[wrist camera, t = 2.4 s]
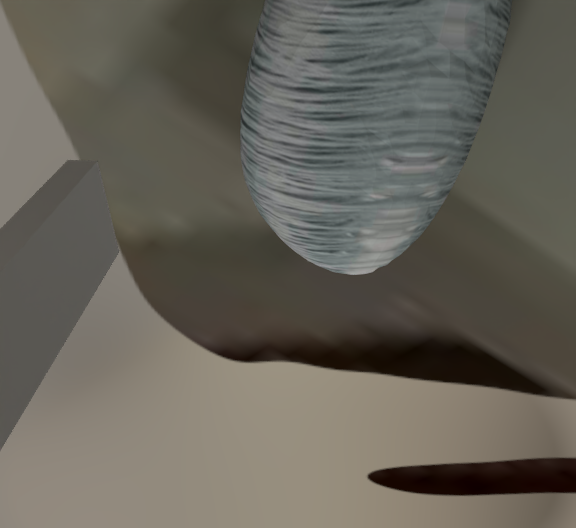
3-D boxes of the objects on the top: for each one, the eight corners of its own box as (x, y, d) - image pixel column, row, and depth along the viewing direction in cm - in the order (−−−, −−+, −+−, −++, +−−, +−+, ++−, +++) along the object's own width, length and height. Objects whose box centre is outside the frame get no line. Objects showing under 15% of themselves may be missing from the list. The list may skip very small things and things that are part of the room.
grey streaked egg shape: (242, -197, 16) (370, -29, 11) (487, -136, 20) (673, 11, 14) (190, 150, 26) (242, 321, 21) (357, 147, 30) (437, 292, 25)
